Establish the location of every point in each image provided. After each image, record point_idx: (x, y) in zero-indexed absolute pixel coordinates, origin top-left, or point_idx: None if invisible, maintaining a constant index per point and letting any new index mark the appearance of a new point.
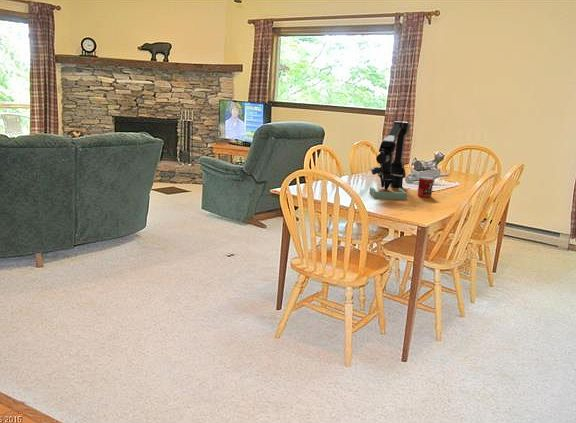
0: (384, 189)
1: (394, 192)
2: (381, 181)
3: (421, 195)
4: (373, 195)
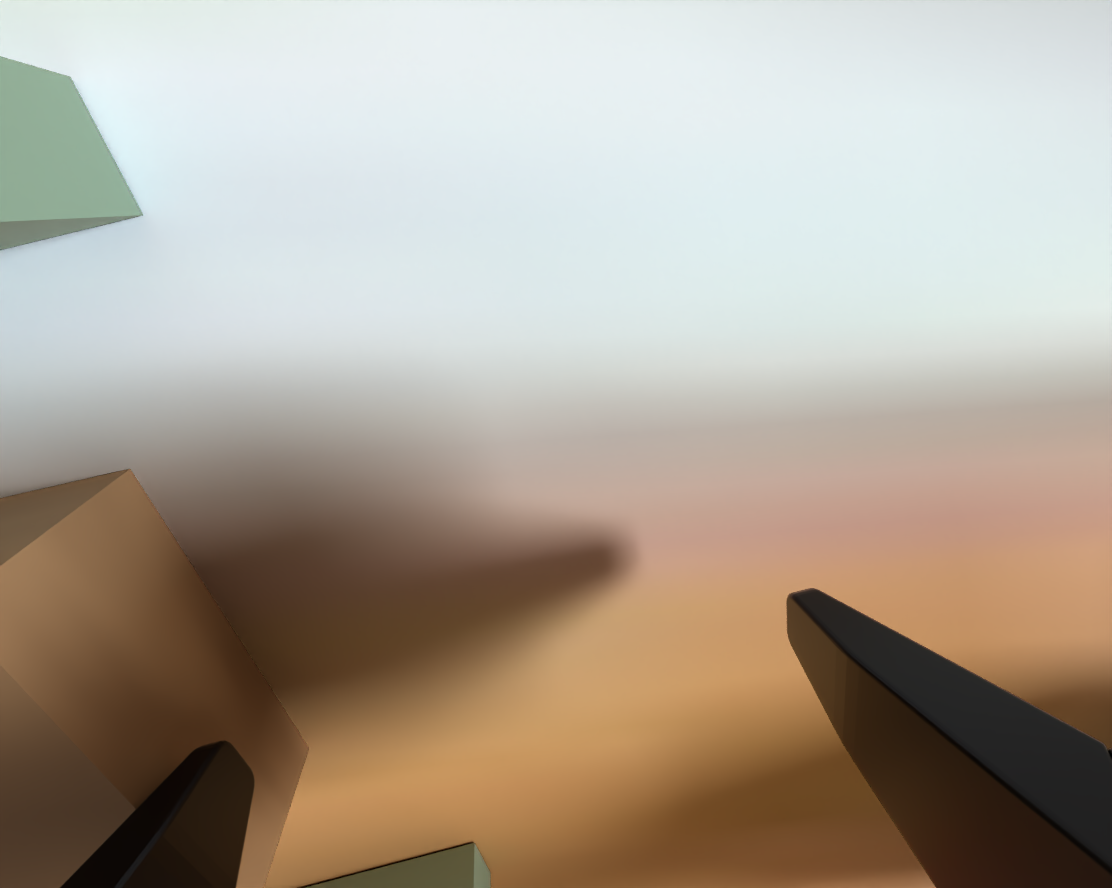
0: (26, 805)
1: None
2: (1017, 811)
3: None
4: None
